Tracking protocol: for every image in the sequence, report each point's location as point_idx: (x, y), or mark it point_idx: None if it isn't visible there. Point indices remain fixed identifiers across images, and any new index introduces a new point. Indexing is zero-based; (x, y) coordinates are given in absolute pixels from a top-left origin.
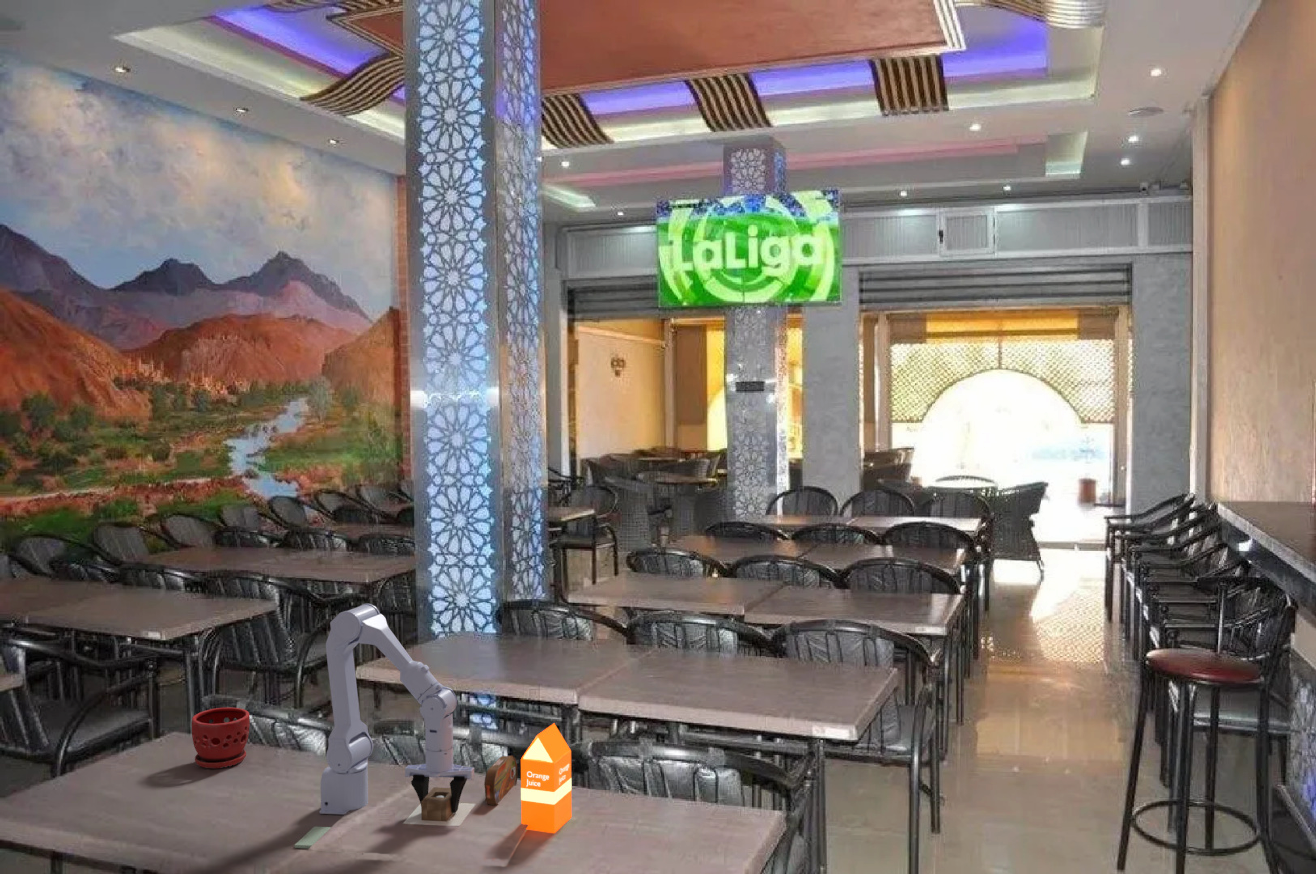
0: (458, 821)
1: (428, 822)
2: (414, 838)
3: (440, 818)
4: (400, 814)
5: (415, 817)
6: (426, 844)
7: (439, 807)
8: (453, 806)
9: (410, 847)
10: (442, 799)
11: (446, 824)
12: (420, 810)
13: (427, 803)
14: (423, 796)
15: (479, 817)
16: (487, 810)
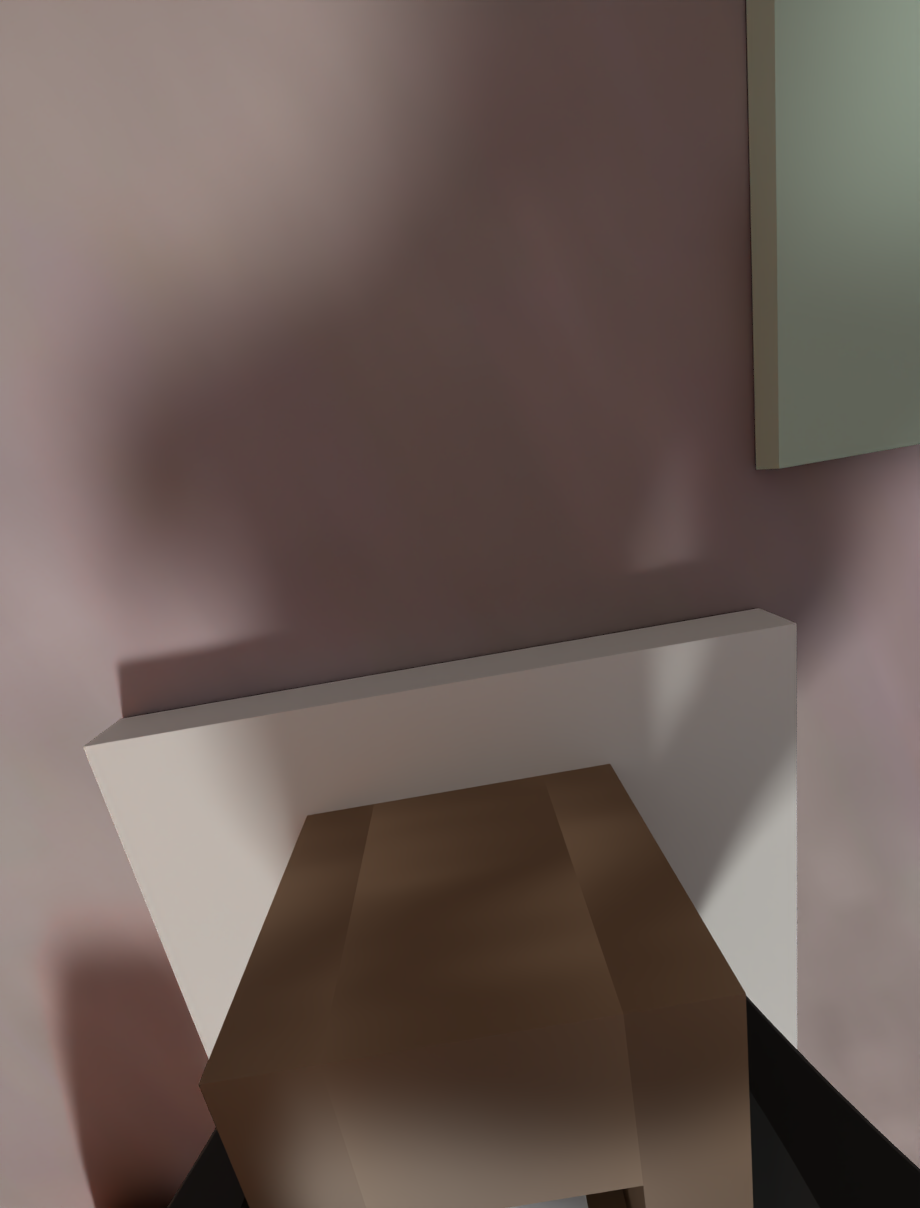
0: (170, 851)
1: (500, 735)
2: (505, 390)
3: (374, 825)
4: (905, 890)
5: (713, 810)
6: (261, 254)
7: (363, 954)
8: None
9: (415, 86)
10: (366, 1171)
11: (255, 743)
12: (733, 970)
13: (597, 980)
14: (793, 1175)
15: (138, 1029)
16: (165, 1152)
